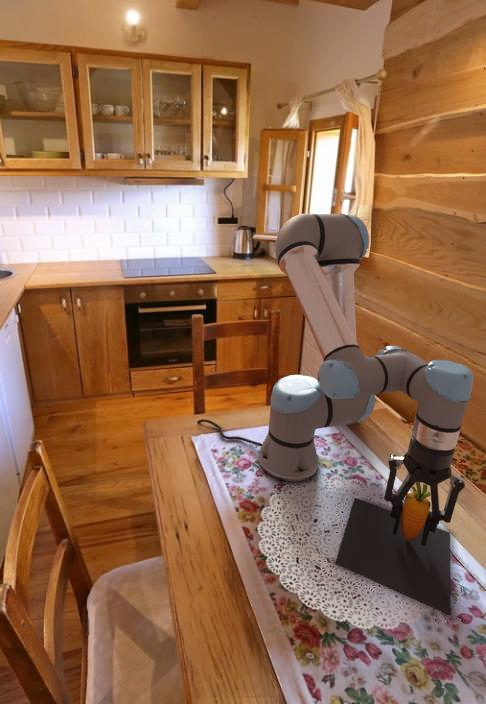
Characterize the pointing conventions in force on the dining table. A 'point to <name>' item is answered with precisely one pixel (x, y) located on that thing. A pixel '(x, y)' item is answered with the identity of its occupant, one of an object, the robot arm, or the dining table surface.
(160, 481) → the dining table surface
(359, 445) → the dining table surface
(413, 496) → the carrot
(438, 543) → the mat
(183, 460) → the dining table surface
